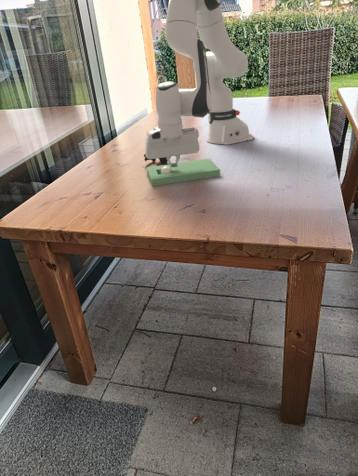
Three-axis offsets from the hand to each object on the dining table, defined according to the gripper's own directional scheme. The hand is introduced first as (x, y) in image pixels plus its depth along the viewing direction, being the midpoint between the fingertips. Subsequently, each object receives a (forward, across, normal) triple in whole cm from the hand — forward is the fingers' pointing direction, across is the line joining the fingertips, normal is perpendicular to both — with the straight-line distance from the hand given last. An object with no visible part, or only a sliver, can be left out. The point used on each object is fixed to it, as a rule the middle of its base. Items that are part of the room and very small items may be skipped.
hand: (173, 166), depth 144 cm
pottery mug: (+4, +3, -16) cm, 17 cm away
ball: (+1, +3, 0) cm, 4 cm away
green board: (+4, -3, 0) cm, 5 cm away
